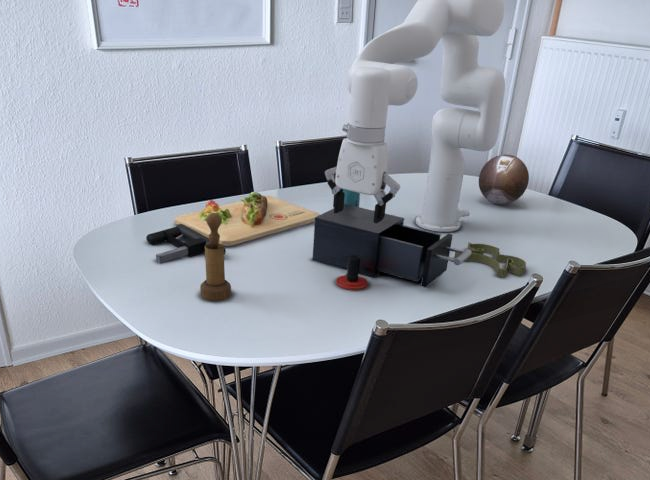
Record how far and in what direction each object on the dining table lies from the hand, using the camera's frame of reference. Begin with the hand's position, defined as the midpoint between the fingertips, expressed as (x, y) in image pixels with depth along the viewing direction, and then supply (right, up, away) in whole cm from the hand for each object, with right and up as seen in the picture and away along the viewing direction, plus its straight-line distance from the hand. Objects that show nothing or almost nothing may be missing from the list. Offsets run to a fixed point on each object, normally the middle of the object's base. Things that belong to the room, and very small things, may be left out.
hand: (357, 216), depth 140 cm
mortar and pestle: (-31, -17, 0) cm, 35 cm away
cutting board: (-27, +7, +40) cm, 49 cm away
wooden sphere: (+50, +19, +67) cm, 86 cm away
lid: (-1, -13, +8) cm, 16 cm away
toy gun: (-42, -4, +20) cm, 47 cm away
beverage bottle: (+1, +10, +47) cm, 48 cm away
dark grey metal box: (+1, -6, +21) cm, 21 cm away
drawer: (+15, -11, +13) cm, 22 cm away
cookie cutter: (+35, -7, +23) cm, 43 cm away
